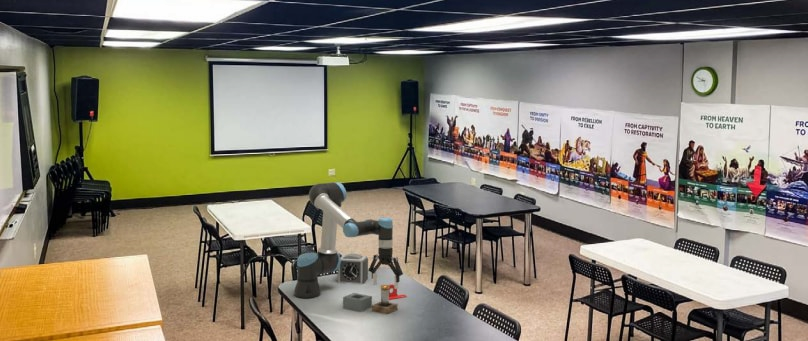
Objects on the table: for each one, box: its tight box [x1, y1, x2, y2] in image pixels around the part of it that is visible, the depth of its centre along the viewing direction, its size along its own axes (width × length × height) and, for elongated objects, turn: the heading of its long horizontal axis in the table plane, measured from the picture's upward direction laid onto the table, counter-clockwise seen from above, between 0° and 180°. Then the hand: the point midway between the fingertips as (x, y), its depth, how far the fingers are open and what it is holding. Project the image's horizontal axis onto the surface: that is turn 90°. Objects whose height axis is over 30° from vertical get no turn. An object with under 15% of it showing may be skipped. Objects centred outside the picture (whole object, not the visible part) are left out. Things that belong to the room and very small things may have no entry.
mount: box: [371, 301, 399, 315], centre depth 339 cm, size 10×10×3 cm
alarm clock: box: [337, 253, 369, 285], centre depth 391 cm, size 18×13×18 cm
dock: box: [342, 292, 373, 312], centre depth 343 cm, size 12×10×6 cm
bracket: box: [388, 284, 408, 301], centre depth 362 cm, size 12×4×8 cm, turn 118°
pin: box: [380, 284, 390, 307], centre depth 338 cm, size 5×5×13 cm
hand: (385, 286), depth 337 cm, fingers open, 13 cm apart
